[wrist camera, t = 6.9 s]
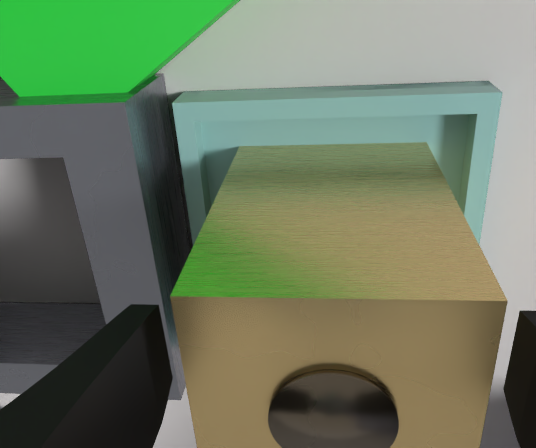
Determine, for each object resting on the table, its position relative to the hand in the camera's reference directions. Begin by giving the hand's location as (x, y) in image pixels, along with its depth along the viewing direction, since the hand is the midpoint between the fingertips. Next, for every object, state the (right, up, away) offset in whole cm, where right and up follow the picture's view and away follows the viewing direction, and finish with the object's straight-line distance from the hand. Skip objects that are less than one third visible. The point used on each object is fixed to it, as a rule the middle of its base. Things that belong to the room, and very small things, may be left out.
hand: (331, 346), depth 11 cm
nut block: (+1, +2, +4) cm, 5 cm away
